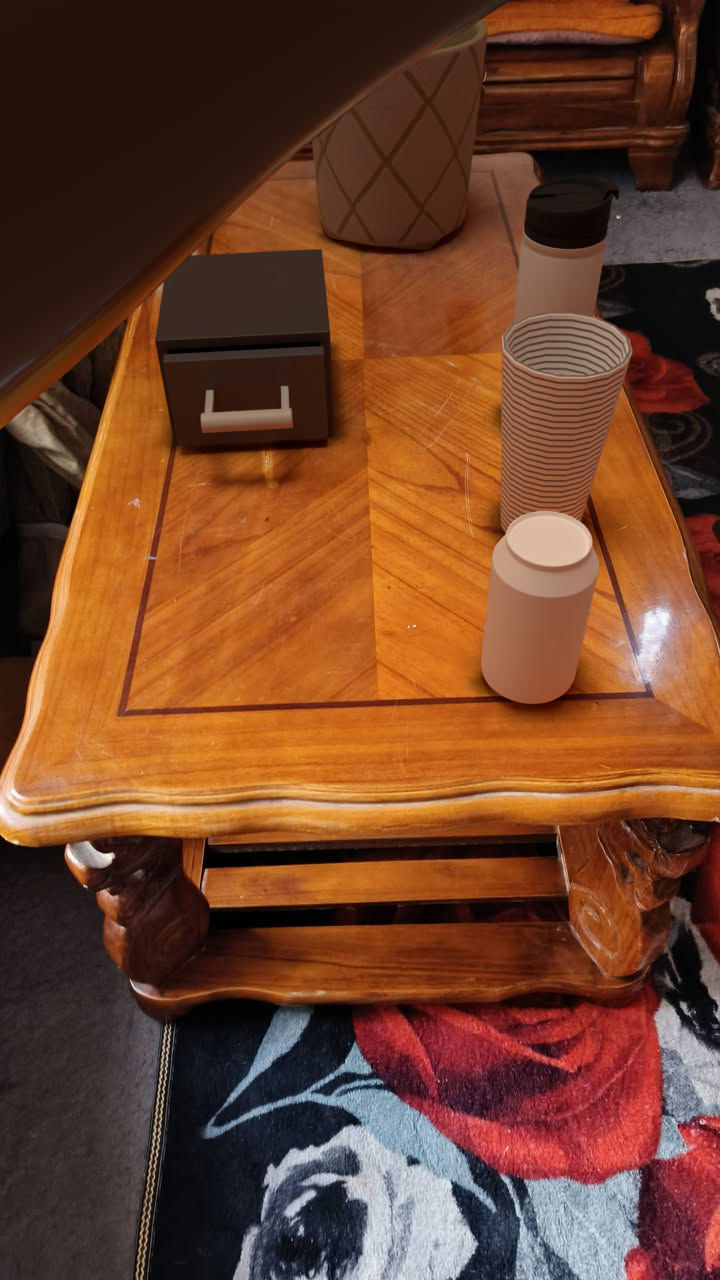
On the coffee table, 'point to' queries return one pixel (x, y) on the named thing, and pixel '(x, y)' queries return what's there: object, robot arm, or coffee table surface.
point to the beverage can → (538, 606)
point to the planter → (405, 152)
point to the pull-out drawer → (247, 393)
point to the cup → (556, 409)
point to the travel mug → (563, 246)
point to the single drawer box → (246, 306)
